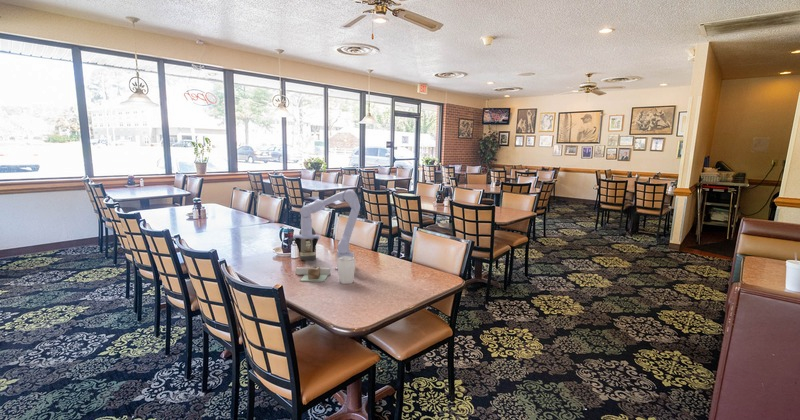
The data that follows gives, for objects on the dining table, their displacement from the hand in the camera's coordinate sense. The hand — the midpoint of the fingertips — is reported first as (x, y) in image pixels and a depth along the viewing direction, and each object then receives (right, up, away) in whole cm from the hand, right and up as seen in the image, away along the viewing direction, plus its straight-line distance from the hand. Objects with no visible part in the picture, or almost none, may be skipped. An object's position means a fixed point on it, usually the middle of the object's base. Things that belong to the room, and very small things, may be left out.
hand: (306, 251), depth 209 cm
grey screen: (+6, -11, -9) cm, 16 cm away
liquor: (-4, -7, +19) cm, 21 cm away
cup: (+25, -13, -19) cm, 34 cm away
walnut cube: (+8, -12, -16) cm, 21 cm away
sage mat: (+8, -12, -16) cm, 21 cm away
